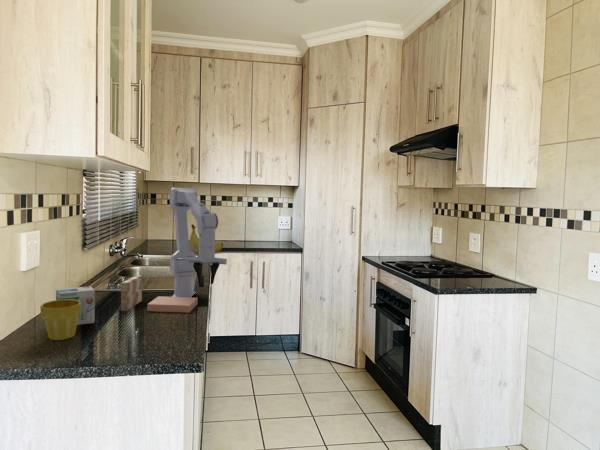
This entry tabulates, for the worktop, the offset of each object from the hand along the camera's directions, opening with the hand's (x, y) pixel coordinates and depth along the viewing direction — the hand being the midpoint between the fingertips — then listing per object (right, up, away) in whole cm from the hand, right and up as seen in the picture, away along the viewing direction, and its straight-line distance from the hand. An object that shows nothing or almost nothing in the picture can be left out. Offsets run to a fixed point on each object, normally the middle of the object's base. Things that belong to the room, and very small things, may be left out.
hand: (206, 283), depth 164 cm
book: (-12, -10, +1) cm, 16 cm away
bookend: (-28, -8, +1) cm, 29 cm away
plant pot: (-34, -11, -35) cm, 50 cm away
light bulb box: (-37, -10, -21) cm, 44 cm away
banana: (-30, +2, +145) cm, 149 cm away
